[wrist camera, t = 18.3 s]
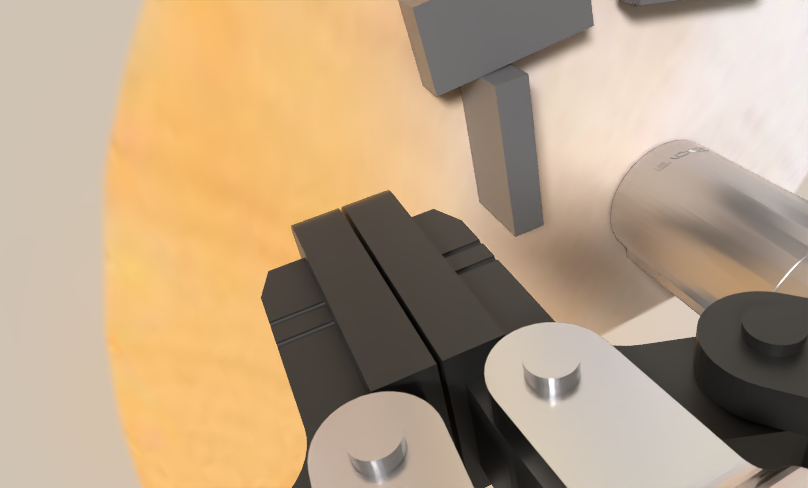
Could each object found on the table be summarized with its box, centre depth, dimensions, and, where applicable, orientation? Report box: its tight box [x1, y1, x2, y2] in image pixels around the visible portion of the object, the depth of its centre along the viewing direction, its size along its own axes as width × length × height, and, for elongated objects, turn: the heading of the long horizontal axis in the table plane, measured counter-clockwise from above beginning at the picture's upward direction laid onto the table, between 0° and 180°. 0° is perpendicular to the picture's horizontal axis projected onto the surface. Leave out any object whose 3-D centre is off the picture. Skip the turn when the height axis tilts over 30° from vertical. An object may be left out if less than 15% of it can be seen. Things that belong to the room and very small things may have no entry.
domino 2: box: [460, 64, 544, 237], centre depth 40 cm, size 5×2×10 cm
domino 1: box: [398, 0, 594, 97], centre depth 36 cm, size 5×2×10 cm
